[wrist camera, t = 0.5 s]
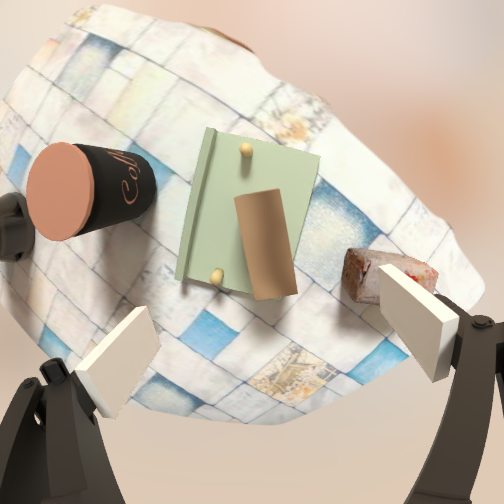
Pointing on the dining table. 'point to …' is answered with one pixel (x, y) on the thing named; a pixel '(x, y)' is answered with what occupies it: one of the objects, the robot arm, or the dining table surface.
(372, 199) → the dining table surface
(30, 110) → the dining table surface
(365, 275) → the food item
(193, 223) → the ledge board
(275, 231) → the brown box-like piece
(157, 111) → the dining table surface
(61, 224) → the coffee jar
